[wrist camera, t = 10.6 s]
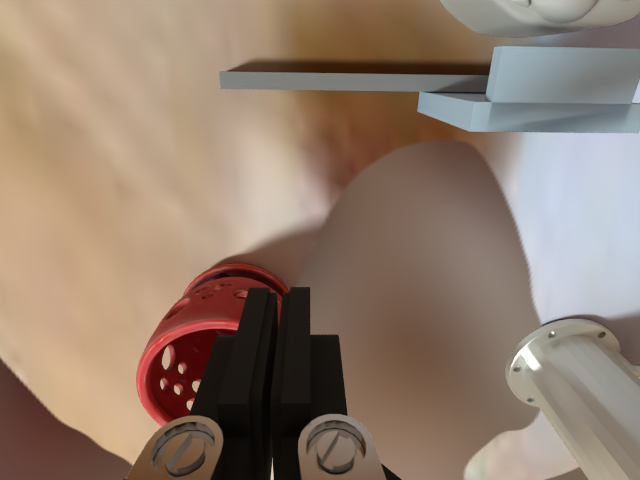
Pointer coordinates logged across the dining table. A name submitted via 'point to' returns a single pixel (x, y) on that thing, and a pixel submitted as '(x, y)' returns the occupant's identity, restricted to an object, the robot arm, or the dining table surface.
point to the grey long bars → (353, 81)
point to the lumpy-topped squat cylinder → (539, 15)
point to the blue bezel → (547, 92)
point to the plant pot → (196, 335)
